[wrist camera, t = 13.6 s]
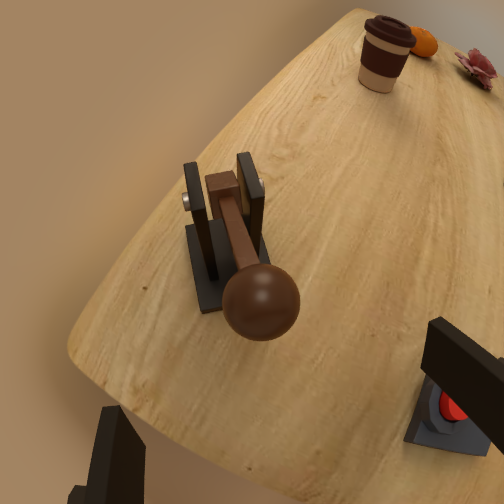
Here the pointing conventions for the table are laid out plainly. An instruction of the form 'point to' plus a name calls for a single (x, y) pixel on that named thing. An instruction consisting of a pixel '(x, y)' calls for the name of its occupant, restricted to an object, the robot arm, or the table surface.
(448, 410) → the button
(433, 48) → the fruit
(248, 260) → the lever
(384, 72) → the coffee cup
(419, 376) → the table surface
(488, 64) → the flower
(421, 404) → the button block
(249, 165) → the bracket
